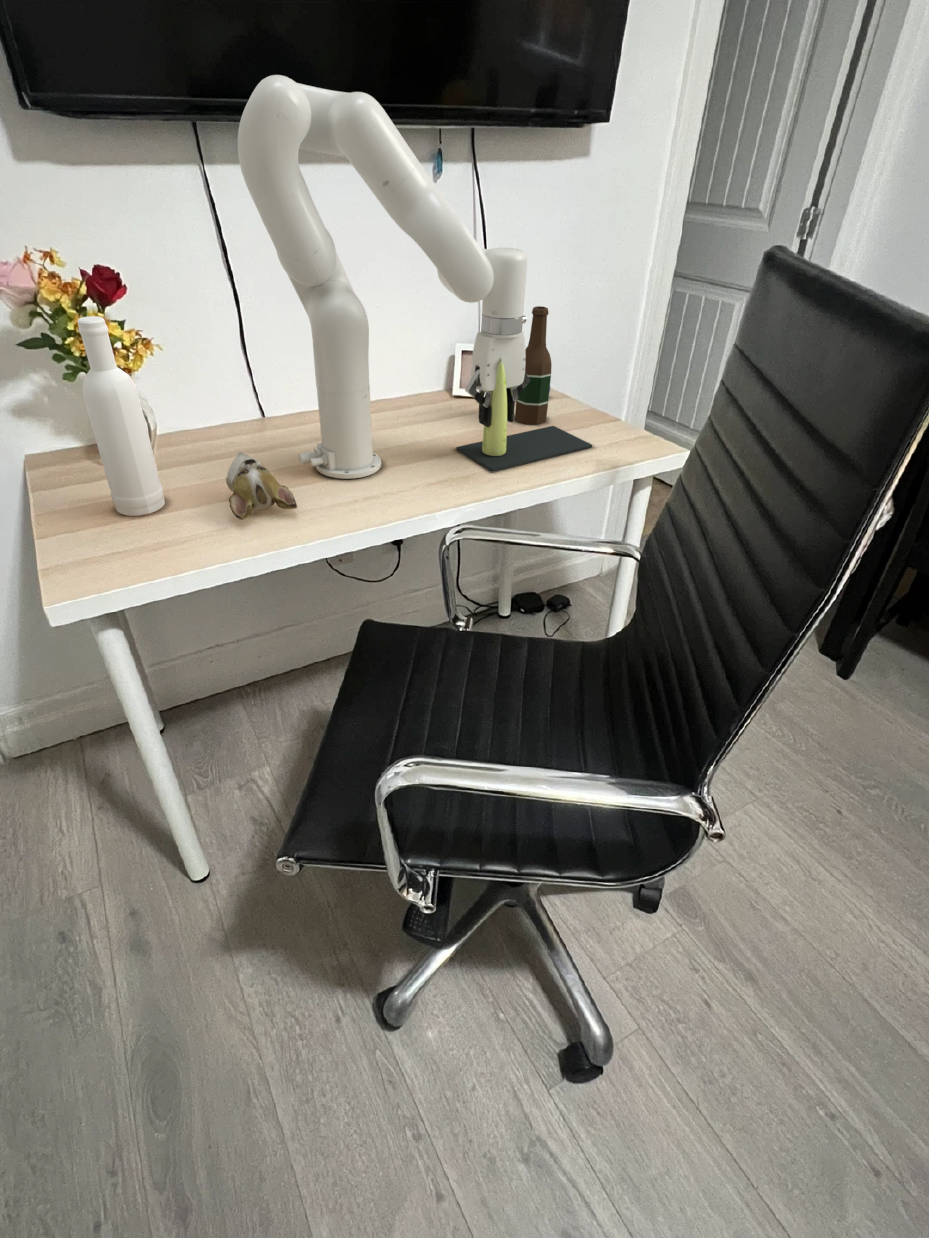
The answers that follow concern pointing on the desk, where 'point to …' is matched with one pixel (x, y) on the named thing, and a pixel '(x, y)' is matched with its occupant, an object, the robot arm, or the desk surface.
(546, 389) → the beer bottle
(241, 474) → the ceramic sculpture
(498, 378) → the tube
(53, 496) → the desk surface
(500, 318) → the robot arm
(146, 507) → the bottle
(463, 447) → the mat
